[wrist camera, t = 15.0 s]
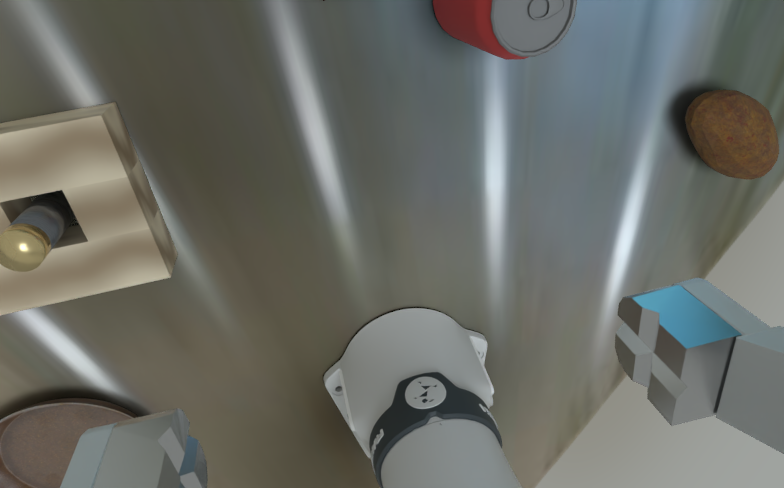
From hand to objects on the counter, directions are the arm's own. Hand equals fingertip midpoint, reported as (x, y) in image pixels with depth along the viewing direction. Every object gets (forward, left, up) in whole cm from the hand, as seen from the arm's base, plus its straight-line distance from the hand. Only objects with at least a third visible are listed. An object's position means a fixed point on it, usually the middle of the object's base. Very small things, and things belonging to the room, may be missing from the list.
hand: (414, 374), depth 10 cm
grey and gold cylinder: (-8, +22, -37) cm, 44 cm away
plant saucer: (-35, +32, -38) cm, 61 cm away
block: (-8, +22, -37) cm, 44 cm away
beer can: (+2, -14, -37) cm, 40 cm away
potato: (-14, -38, -37) cm, 55 cm away
